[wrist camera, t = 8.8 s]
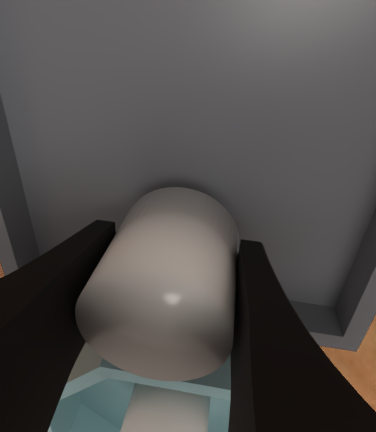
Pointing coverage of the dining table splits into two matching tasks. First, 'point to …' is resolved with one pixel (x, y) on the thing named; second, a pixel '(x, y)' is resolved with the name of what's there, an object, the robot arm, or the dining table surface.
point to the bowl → (127, 395)
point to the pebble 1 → (165, 288)
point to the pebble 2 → (165, 411)
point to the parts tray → (200, 132)
